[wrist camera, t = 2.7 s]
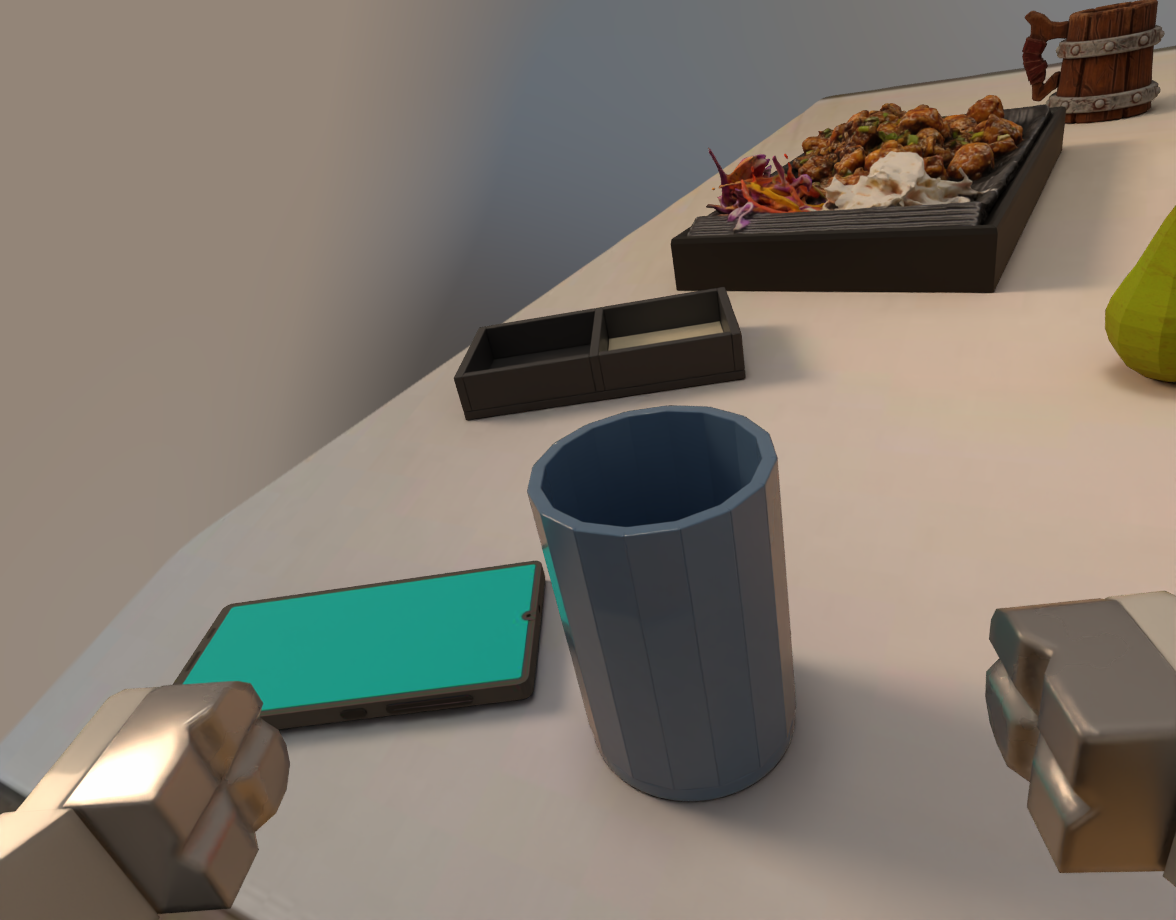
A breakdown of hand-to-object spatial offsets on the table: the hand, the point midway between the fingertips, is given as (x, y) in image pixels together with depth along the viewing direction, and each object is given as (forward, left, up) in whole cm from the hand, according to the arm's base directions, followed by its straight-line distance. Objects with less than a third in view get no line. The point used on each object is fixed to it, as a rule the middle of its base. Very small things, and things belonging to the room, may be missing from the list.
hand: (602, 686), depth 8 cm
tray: (-4, +43, -14) cm, 46 cm away
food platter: (+24, +72, -14) cm, 77 cm away
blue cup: (0, +12, -14) cm, 19 cm away
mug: (+56, +102, -14) cm, 117 cm away
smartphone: (-13, +17, -14) cm, 26 cm away
